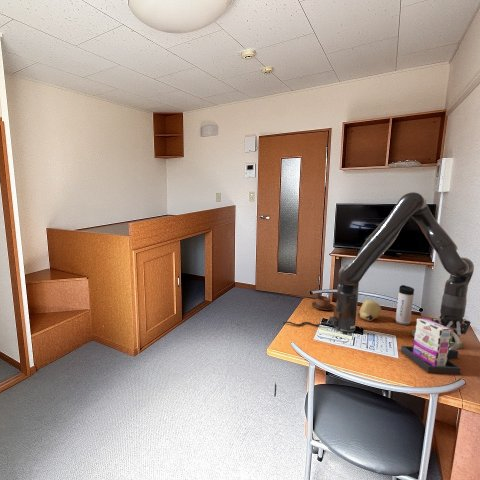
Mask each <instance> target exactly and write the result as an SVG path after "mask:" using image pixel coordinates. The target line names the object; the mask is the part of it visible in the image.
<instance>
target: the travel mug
mask: <svg viewBox="0 0 480 480" xmlns="http://www.w3.org/2000/svg"><path fill="white" fill-rule="evenodd" d="M398 290H399V291H398V295H397V296H398V297H397V304H396V312H395V322H396V323H397V324H398V325H403V326H409V325H411V319H412V312H413V311H412V310H413V303H414V296H415V288H413V287H412V286H409V285H405V284H401V285H400V286H399V288H398Z"/></svg>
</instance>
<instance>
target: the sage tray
mask: <svg viewBox="0 0 480 480" xmlns="http://www.w3.org/2000/svg"><path fill="white" fill-rule="evenodd" d="M411 336H412V337H415V330H412V333H411ZM453 344H455V343H454V342H452V336H451V337H450V344H449V347H452V346H453ZM462 348H463V342H462V341H460V346H459V347H458V348H457V349H462Z"/></svg>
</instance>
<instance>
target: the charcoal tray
mask: <svg viewBox="0 0 480 480" xmlns="http://www.w3.org/2000/svg"><path fill="white" fill-rule="evenodd" d="M412 351H413V345H401V347H400V352H401V353H402V354H404V355H405V356H406V357H408V358H409V359H410V360H411V361H412V362H414V363H415V364H416V365H417V366H419V367H420V368H421V369H423V371H425V372H426V373H428V374H445V375H446V374H447V375H448V374H450V375H461V369H462V368H461V367H460V366H458V365H457V364H455V363H454V362H453V361H452V360H450V359H449V358H447V364H446V366H432V365H430V364H428V363H427V362H425V361H423V360H422V359H420V358H419V357H417V356H416V355H415V354H413V353H412Z"/></svg>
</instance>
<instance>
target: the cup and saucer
mask: <svg viewBox="0 0 480 480" xmlns="http://www.w3.org/2000/svg"><path fill="white" fill-rule="evenodd" d="M311 305H312V306H313V307H314V308H315V309H318V310H321V311H331V310H334V309H335V305H334V304H332V303H331V298H330V297H328V296H323V295H318V296H316V301H312V302H311Z"/></svg>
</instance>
